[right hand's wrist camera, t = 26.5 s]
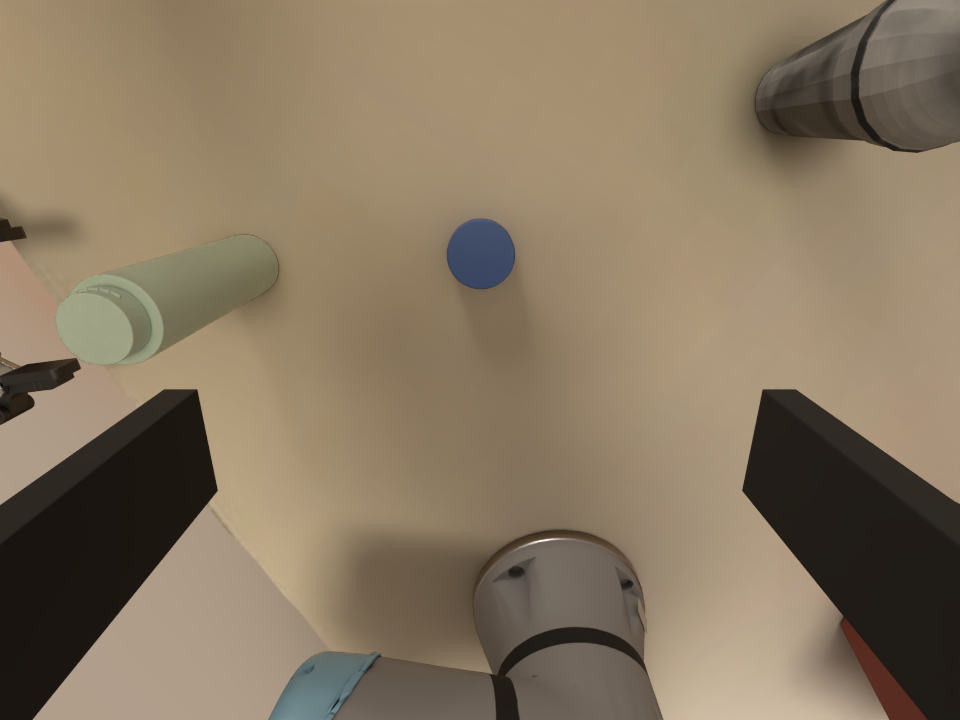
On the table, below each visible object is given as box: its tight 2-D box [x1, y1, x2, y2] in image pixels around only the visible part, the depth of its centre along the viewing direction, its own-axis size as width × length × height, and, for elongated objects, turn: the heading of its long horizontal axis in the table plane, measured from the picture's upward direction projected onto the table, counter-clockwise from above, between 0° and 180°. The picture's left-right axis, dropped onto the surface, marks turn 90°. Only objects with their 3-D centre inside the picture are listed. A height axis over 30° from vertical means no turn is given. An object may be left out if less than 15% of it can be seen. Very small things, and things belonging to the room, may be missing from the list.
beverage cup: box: [755, 0, 960, 153], centre depth 25 cm, size 7×7×20 cm
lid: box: [447, 219, 515, 289], centre depth 37 cm, size 5×5×2 cm
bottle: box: [55, 234, 279, 365], centre depth 30 cm, size 4×4×16 cm
